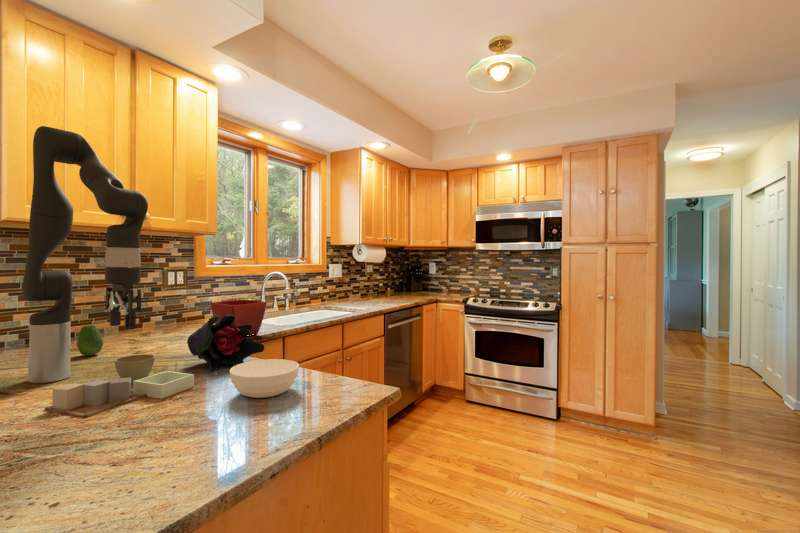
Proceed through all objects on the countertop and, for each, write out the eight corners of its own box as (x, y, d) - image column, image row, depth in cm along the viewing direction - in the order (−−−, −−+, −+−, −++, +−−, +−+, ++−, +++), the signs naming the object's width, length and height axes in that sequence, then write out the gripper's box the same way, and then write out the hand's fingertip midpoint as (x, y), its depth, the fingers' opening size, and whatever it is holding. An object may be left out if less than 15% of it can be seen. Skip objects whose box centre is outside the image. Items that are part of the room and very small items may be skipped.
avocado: (73, 356, 143) (73, 324, 143) (99, 352, 149) (99, 322, 149) (80, 359, 138) (80, 326, 138) (106, 355, 145) (106, 324, 145)
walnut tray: (44, 411, 90) (44, 407, 90) (113, 390, 105) (113, 387, 105) (85, 419, 86) (85, 415, 86) (150, 396, 101) (150, 392, 101)
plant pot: (232, 341, 173) (232, 305, 173) (209, 336, 183) (209, 302, 183) (267, 335, 189) (267, 301, 189) (244, 331, 199) (244, 299, 199)
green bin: (133, 395, 101) (133, 381, 101) (166, 384, 111) (166, 370, 111) (161, 400, 98) (161, 385, 98) (193, 388, 108) (193, 374, 108)
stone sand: (52, 409, 90) (52, 388, 90) (69, 403, 94) (69, 383, 94) (66, 410, 90) (66, 389, 90) (83, 404, 93) (83, 384, 93)
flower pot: (134, 388, 108) (134, 363, 108) (105, 385, 110) (105, 361, 110) (162, 377, 117) (162, 355, 117) (135, 375, 119) (136, 353, 119)
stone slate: (82, 404, 94) (82, 384, 94) (99, 398, 97) (99, 379, 97) (94, 406, 92) (94, 386, 92) (110, 400, 96) (110, 381, 96)
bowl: (312, 388, 110) (312, 363, 110) (265, 409, 93) (265, 380, 93) (264, 379, 117) (265, 356, 117) (214, 398, 101) (214, 371, 101)
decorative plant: (228, 382, 142) (276, 375, 126) (156, 368, 125) (202, 357, 108) (241, 330, 152) (288, 316, 136) (176, 310, 134) (221, 291, 118)
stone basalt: (109, 403, 94) (109, 383, 94) (112, 398, 98) (112, 379, 98) (128, 400, 96) (128, 381, 96) (131, 396, 100) (131, 377, 100)
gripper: (94, 264, 99) (93, 326, 99) (118, 265, 91) (118, 332, 91) (127, 265, 105) (126, 322, 105) (152, 265, 97) (151, 328, 98)
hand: (122, 327), depth 98 cm, fingers open, 8 cm apart
